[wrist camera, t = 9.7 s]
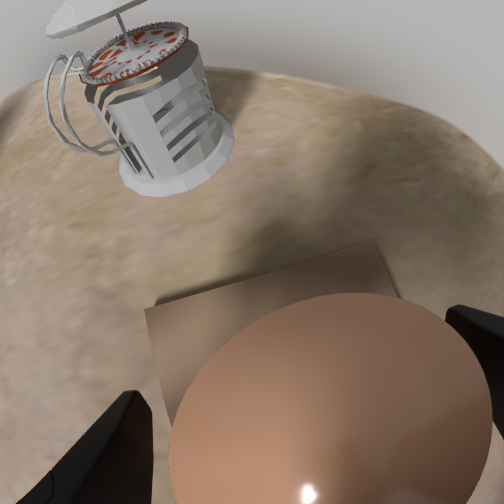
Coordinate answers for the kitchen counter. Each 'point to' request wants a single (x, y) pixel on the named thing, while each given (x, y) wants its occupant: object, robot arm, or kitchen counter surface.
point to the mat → (250, 310)
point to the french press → (145, 100)
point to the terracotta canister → (335, 410)
